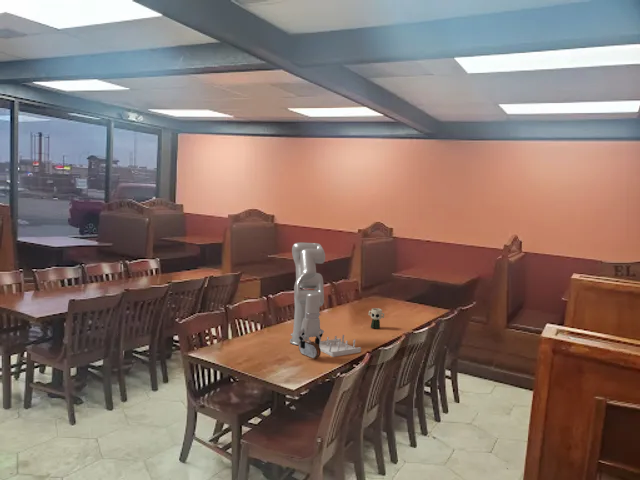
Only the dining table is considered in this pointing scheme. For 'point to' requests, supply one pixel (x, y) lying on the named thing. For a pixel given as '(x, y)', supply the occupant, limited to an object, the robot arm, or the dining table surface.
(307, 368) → the dining table surface
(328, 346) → the dish rack
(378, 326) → the character mug
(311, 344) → the tin
